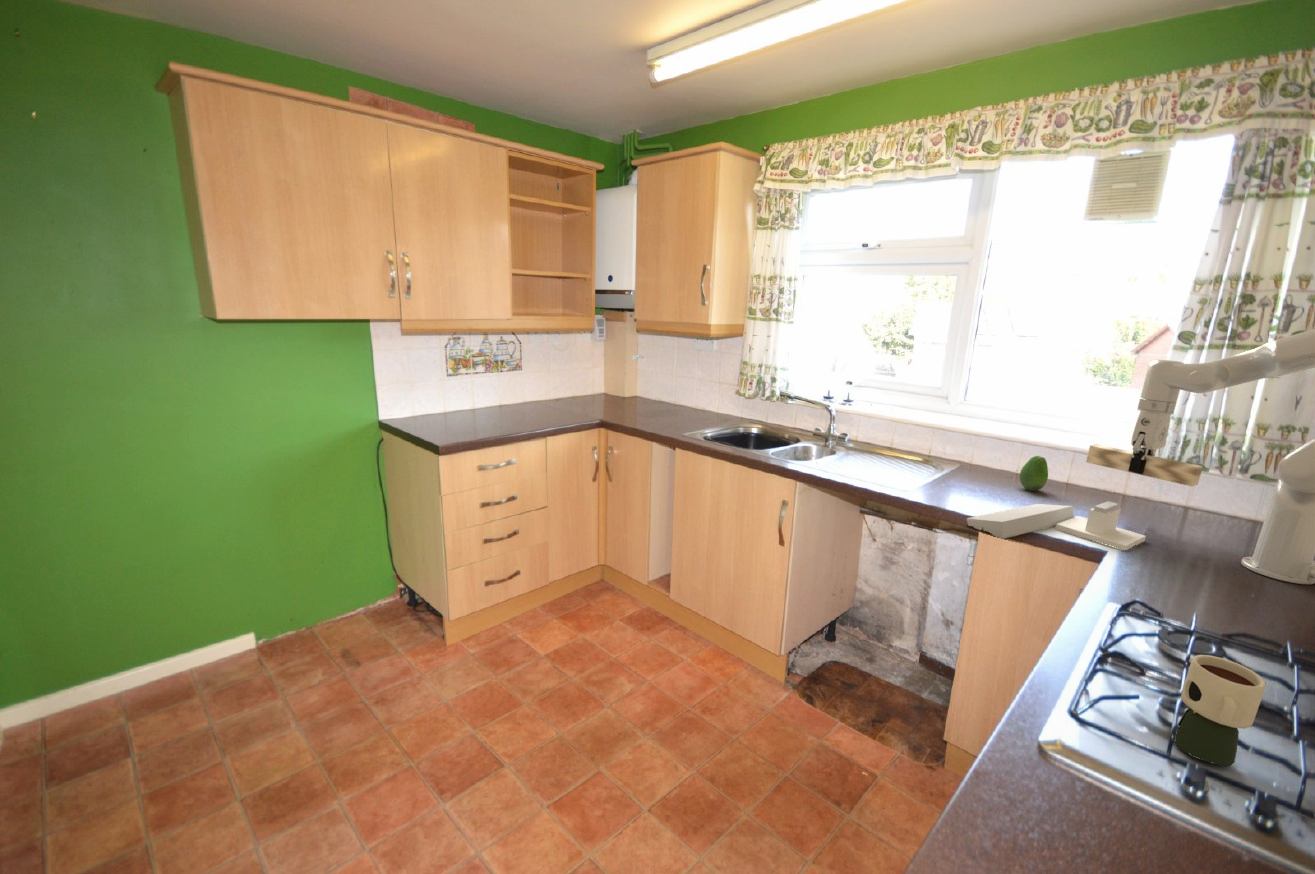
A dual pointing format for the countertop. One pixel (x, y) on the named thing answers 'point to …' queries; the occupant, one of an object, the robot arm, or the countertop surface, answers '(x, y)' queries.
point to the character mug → (1217, 708)
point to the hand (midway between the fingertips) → (1139, 470)
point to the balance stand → (1102, 527)
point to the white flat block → (1021, 519)
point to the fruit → (1034, 474)
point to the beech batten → (1153, 467)
